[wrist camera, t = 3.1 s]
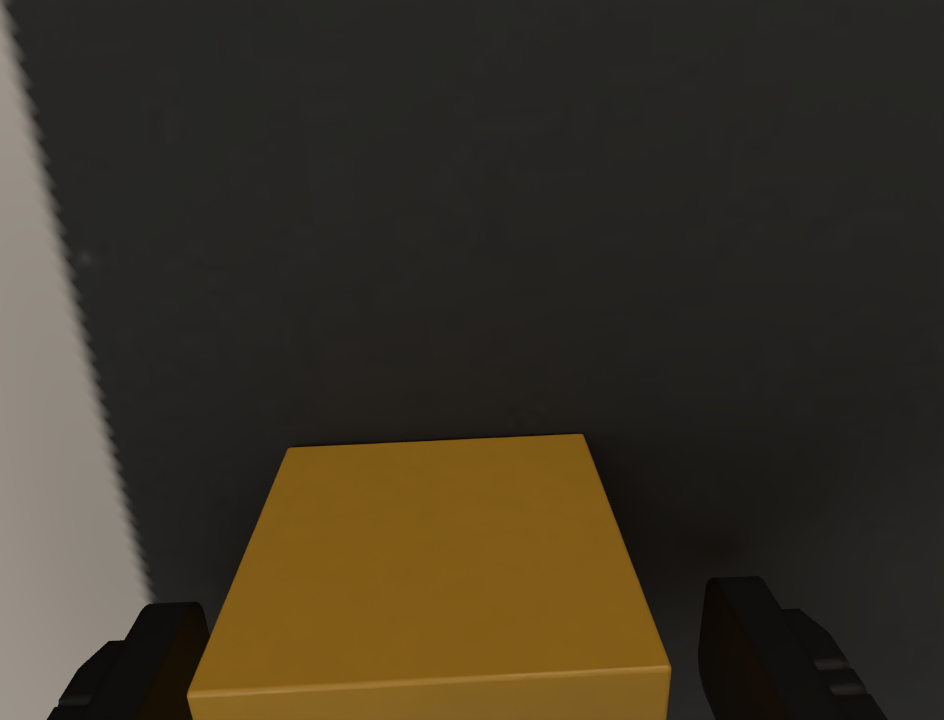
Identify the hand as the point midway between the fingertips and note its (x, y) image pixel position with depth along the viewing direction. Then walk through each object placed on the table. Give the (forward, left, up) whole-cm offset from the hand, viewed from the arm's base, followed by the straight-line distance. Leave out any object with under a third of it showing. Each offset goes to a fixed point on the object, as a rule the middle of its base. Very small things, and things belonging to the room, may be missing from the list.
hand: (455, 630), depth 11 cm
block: (0, 0, -2) cm, 2 cm away
